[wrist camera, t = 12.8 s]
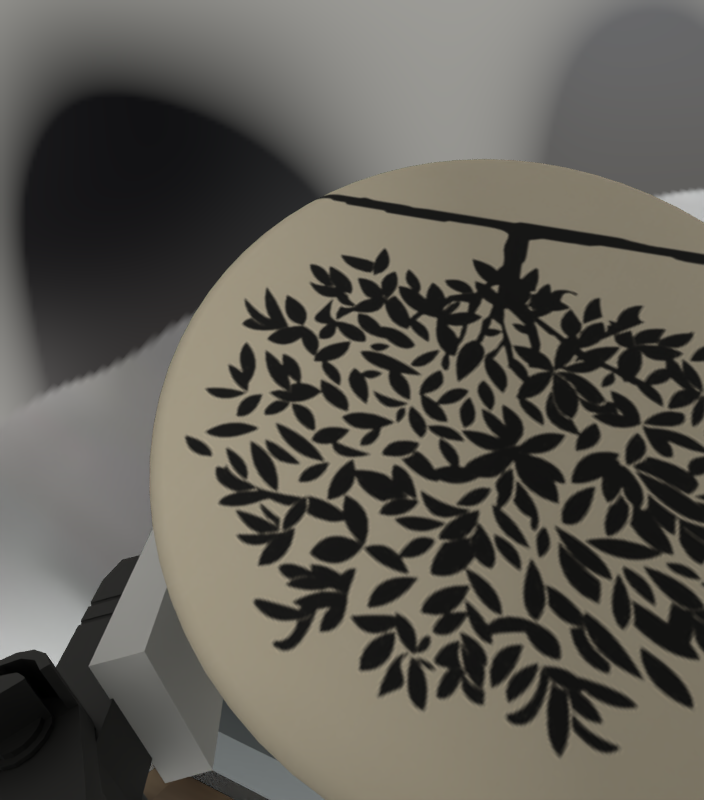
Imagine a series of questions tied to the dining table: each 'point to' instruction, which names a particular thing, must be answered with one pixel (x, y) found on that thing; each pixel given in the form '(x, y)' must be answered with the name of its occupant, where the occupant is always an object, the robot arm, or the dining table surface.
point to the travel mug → (450, 488)
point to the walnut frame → (179, 789)
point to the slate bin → (254, 763)
